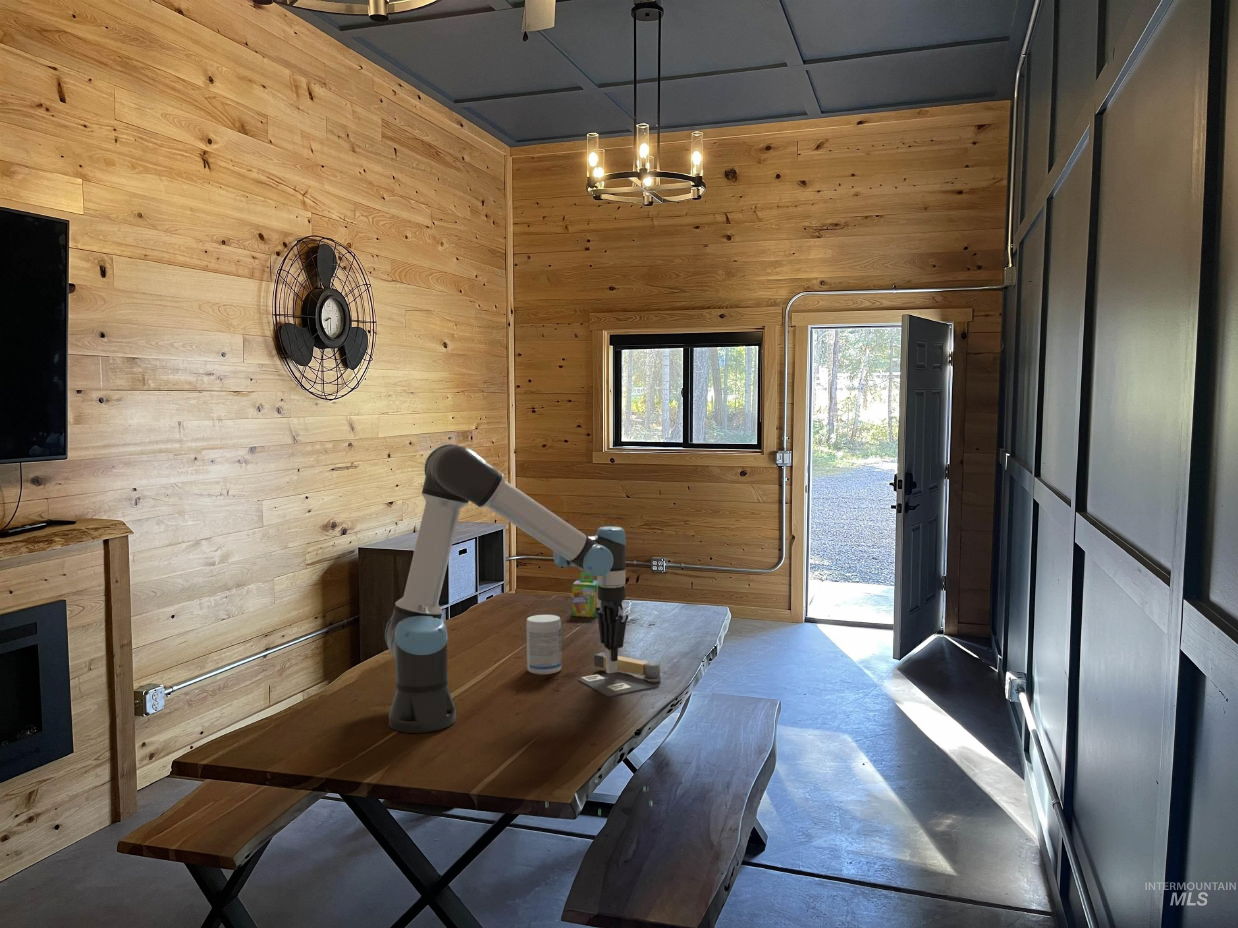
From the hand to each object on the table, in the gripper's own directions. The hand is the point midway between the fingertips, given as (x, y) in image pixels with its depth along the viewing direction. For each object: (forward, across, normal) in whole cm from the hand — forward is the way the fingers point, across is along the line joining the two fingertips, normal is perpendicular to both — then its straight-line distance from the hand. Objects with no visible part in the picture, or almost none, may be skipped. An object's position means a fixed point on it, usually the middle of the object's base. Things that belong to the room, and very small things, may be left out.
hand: (611, 671), depth 234 cm
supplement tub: (+2, +17, +12) cm, 20 cm away
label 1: (+2, +2, +5) cm, 5 cm away
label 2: (+2, -8, +3) cm, 9 cm away
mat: (+2, -5, +2) cm, 5 cm away
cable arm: (0, 0, -5) cm, 5 cm away
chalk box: (+2, +68, -32) cm, 75 cm away
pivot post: (+2, -8, -8) cm, 11 cm away
